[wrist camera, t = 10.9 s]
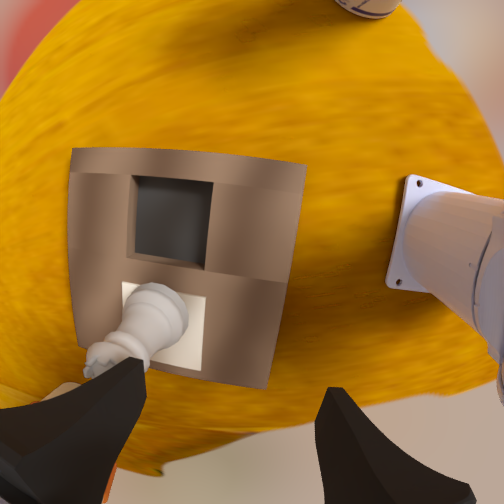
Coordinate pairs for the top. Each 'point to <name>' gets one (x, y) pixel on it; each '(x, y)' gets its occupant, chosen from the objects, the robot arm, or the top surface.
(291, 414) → the top surface
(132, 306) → the rook chess piece
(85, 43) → the top surface
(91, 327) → the hole board
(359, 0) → the energy drink
